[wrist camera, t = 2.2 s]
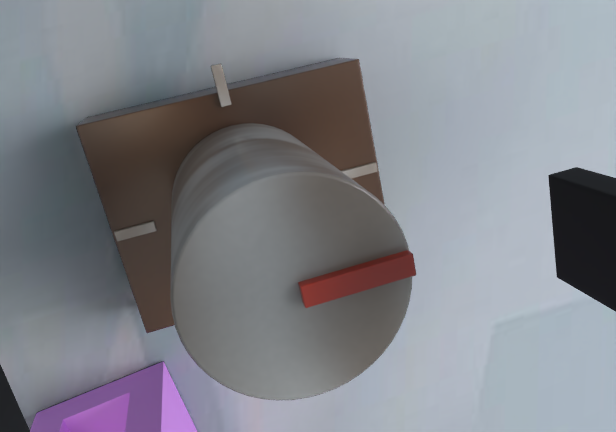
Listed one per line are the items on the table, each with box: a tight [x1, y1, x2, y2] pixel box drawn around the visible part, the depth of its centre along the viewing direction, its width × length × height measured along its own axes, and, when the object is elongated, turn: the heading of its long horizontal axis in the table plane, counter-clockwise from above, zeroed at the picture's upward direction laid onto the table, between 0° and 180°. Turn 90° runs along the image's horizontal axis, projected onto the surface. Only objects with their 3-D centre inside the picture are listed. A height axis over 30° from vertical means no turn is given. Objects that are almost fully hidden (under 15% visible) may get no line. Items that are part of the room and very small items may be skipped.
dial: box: [171, 123, 416, 400], centre depth 17 cm, size 6×6×9 cm
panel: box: [76, 58, 384, 333], centre depth 22 cm, size 10×10×3 cm
